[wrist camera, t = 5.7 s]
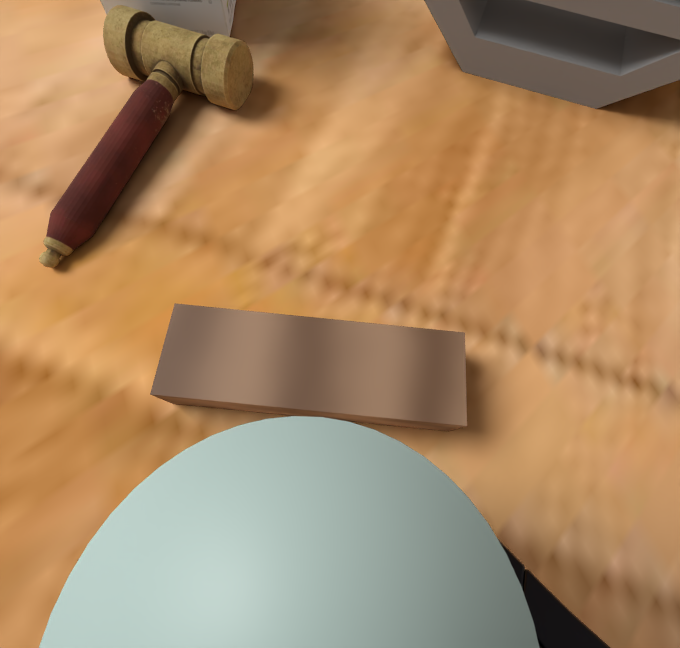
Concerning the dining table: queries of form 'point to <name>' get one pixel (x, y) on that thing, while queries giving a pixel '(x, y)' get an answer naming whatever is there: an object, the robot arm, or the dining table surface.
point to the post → (294, 551)
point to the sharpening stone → (566, 44)
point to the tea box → (186, 13)
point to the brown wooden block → (313, 368)
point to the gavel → (144, 111)
